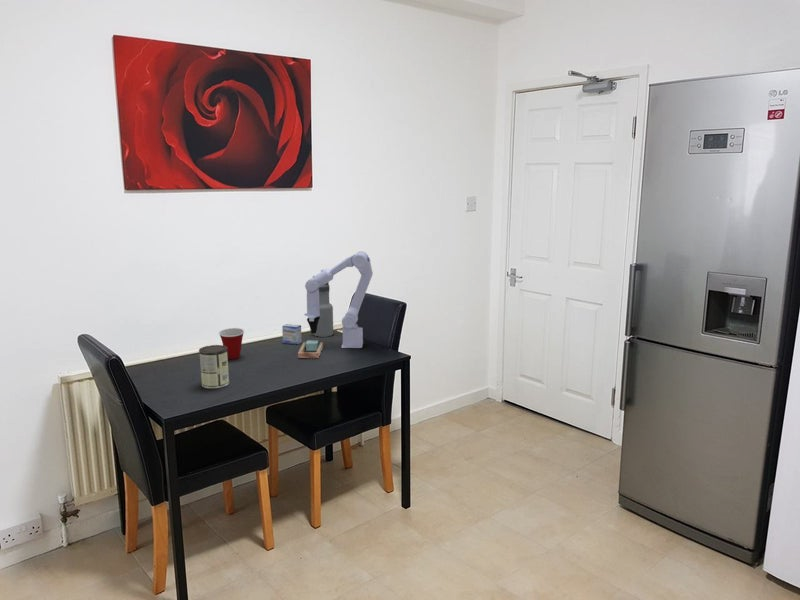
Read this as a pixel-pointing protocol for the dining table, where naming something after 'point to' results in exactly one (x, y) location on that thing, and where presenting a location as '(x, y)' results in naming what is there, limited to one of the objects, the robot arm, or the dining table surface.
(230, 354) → the plastic cup
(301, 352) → the wooden tray
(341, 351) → the dining table surface
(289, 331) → the medicine box
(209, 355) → the coffee can
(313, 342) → the block
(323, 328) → the water bottle
